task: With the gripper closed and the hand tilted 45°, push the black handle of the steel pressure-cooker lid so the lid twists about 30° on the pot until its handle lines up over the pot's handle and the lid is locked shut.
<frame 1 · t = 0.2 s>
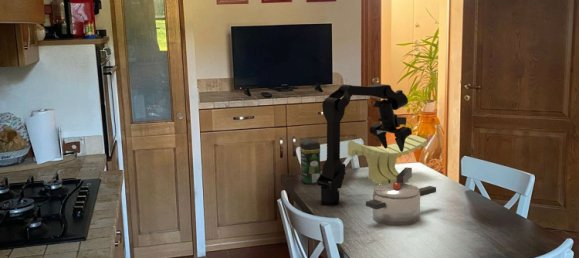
hand: (394, 149, 241), 16 cm above the table, tool tilted 15°, fingers open, 9 cm apart
pressure cooker pot: (396, 218, 204), on the table
slatted curved stool: (386, 179, 257), on the table, touching gripper
coffee jar: (310, 182, 257), on the table
pressure cooker lid: (400, 182, 208), point 11 cm above the table, hinge at 30.0°
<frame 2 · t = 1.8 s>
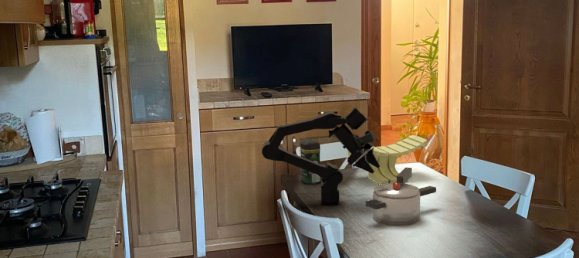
hand: (376, 169, 218), 13 cm above the table, tool tilted 45°, fingers open, 9 cm apart
slatted curved stool: (386, 179, 257), on the table
everything else where it was.
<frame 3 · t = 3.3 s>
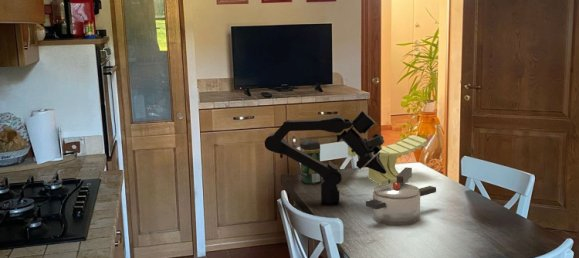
hand: (385, 173, 217), 12 cm above the table, tool tilted 45°, fingers closed
nothing on the table moved.
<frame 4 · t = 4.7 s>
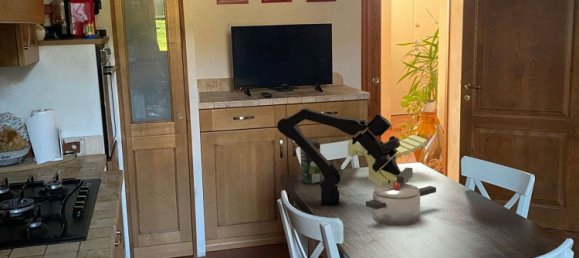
hand: (401, 176, 215), 12 cm above the table, tool tilted 45°, fingers closed, pressing on pressure cooker lid
pressure cooker lid: (400, 182, 208), point 11 cm above the table, hinge at 29.1°, touching gripper
everything else where it was.
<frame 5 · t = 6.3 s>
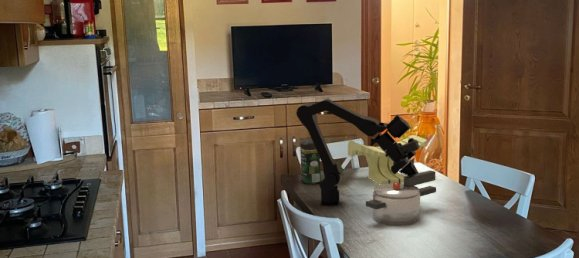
hand: (419, 178, 212), 11 cm above the table, tool tilted 45°, fingers closed
pressure cooker lid: (407, 183, 206), point 11 cm above the table, hinge at 0.8°, touching gripper
everything else where it was.
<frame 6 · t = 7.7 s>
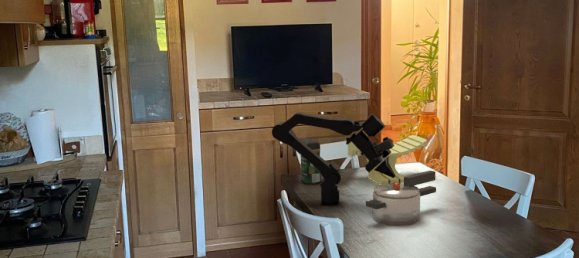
hand: (394, 177, 216), 11 cm above the table, tool tilted 45°, fingers closed
pressure cooker lid: (407, 183, 206), point 11 cm above the table, hinge at 0.8°
everything else where it was.
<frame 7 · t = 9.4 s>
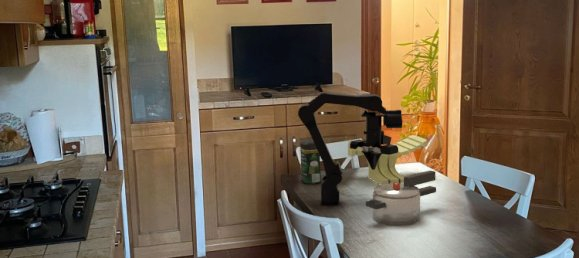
hand: (373, 169, 221), 13 cm above the table, tool pointing down, fingers closed
nothing on the table moved.
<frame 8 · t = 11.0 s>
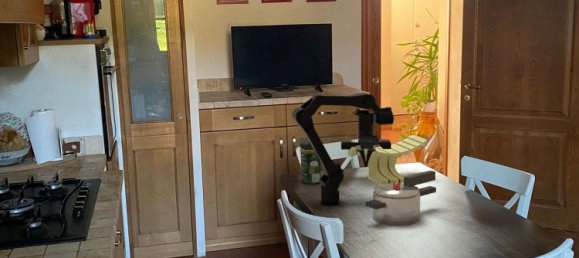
hand: (365, 166, 225), 13 cm above the table, tool pointing down, fingers closed
nothing on the table moved.
at the end: pressure cooker lid at +1° (first picture: +30°); slatted curved stool moved 0.3 cm from its start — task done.
